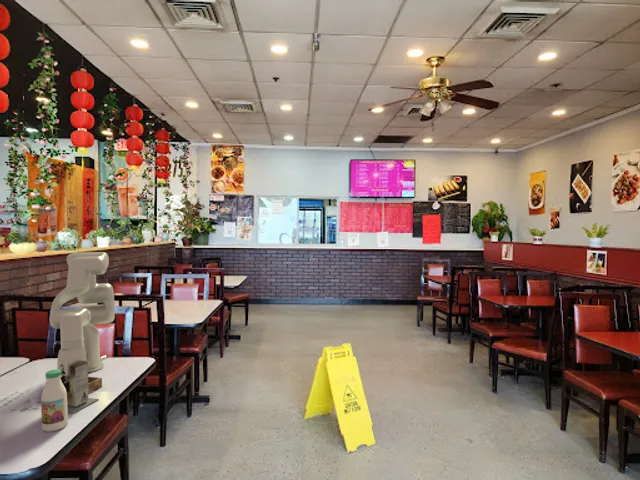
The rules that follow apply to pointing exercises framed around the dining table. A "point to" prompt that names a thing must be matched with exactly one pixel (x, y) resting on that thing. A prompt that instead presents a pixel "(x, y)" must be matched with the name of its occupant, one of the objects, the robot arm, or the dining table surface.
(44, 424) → the milk bottle
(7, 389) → the dining table surface
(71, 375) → the coffee box
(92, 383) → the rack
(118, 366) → the dining table surface
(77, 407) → the mat
